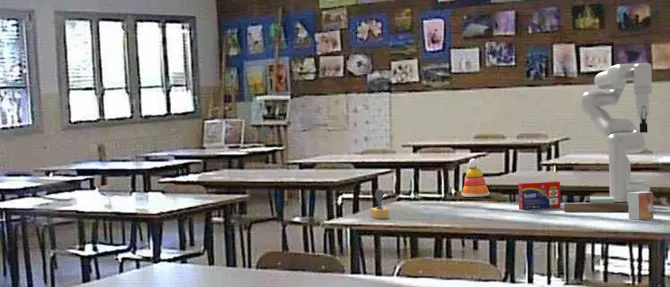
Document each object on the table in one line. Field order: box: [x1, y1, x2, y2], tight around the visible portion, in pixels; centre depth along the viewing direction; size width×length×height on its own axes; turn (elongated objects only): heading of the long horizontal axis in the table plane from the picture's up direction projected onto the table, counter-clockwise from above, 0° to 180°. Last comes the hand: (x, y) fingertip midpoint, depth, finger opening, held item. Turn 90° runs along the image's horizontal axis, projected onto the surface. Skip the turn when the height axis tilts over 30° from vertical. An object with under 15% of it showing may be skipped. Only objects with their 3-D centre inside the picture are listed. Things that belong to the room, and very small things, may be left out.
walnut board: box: [563, 202, 629, 213], centre depth 412 cm, size 2×28×4 cm, turn 75°
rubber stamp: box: [370, 188, 390, 220], centre depth 415 cm, size 10×6×12 cm, turn 10°
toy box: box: [518, 181, 562, 211], centre depth 430 cm, size 18×4×12 cm, turn 104°
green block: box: [589, 195, 616, 203], centre depth 418 cm, size 12×10×6 cm
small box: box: [628, 191, 654, 221], centre depth 382 cm, size 8×6×10 cm
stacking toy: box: [461, 158, 491, 198], centre depth 495 cm, size 14×14×20 cm
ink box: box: [626, 179, 651, 203], centre depth 425 cm, size 8×5×12 cm, turn 39°
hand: (643, 132), depth 432 cm, fingers closed
